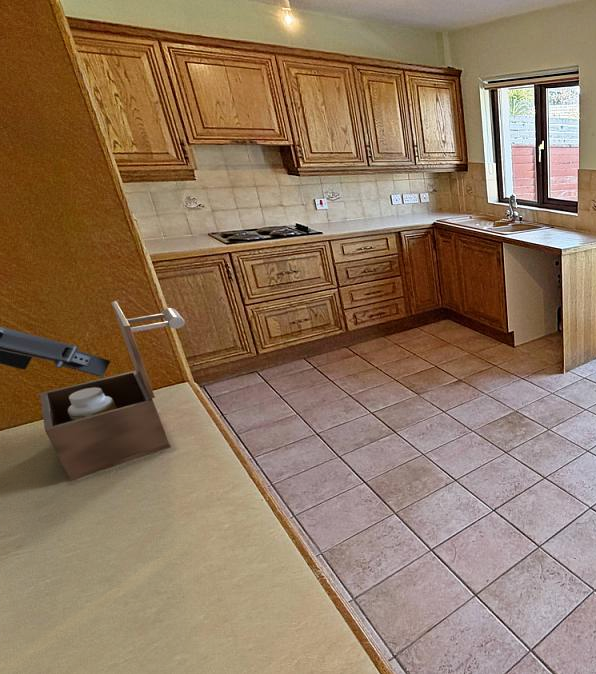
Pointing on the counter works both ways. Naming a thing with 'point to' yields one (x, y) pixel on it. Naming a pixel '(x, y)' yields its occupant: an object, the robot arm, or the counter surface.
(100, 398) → the supplement bottle
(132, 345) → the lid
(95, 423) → the chest
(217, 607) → the counter surface
